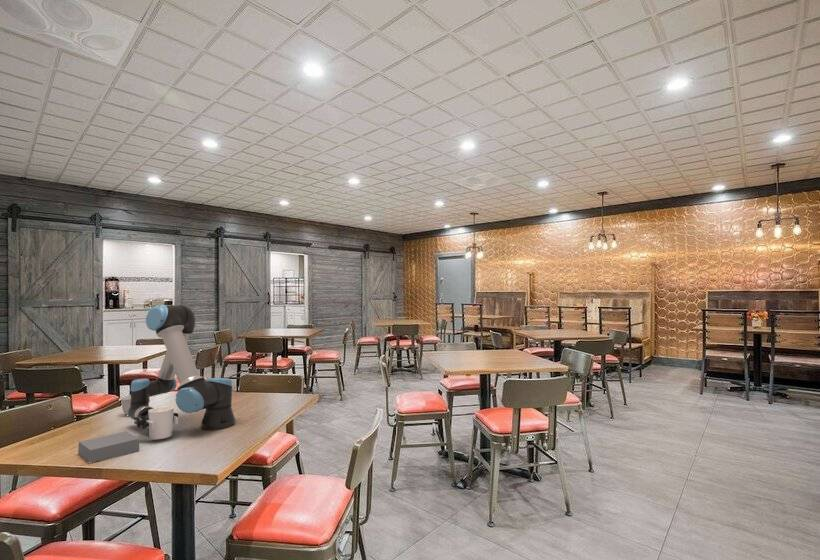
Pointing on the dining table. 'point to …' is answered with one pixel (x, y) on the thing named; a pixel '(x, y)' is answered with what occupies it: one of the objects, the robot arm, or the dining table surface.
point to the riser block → (108, 446)
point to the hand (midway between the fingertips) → (165, 423)
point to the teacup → (126, 403)
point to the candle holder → (161, 422)
